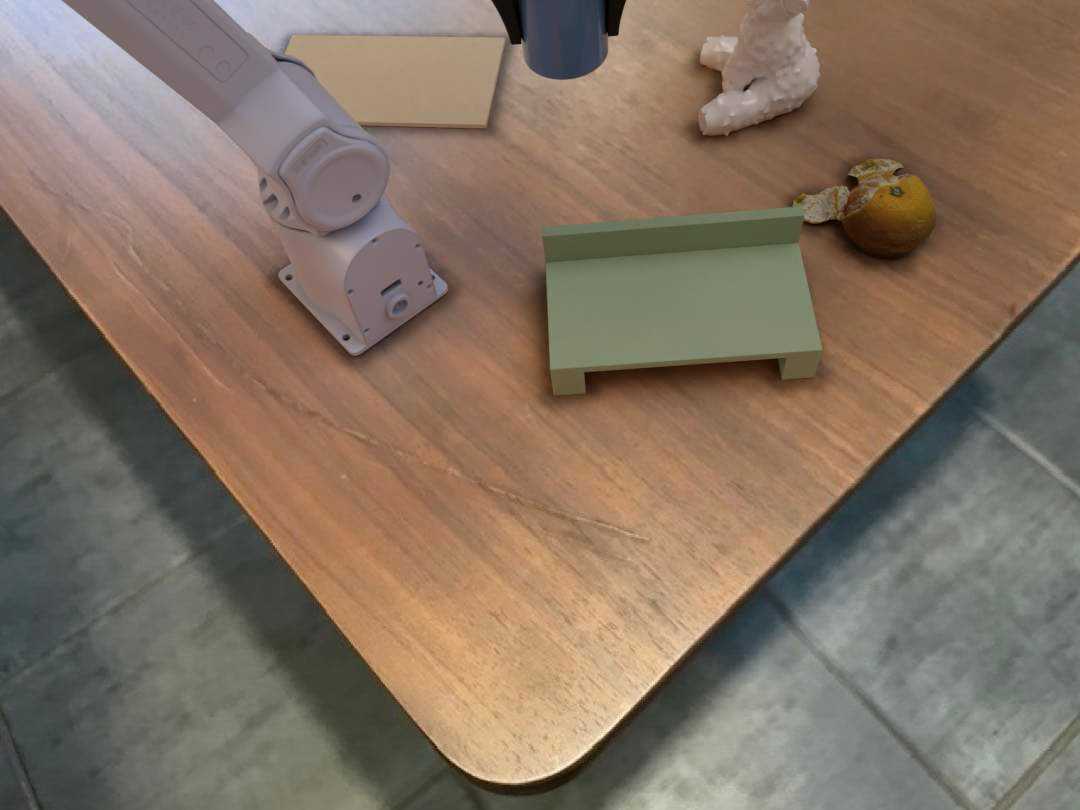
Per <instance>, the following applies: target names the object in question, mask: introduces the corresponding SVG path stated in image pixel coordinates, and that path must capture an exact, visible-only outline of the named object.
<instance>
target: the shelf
mask: <svg viewBox="0 0 1080 810" xmlns="http://www.w3.org/2000/svg"><path fill="white" fill-rule="evenodd" d="M804 216H805V215H804V211H803V207H802V206H798V207H792V206H788V207H787V206H786V207H775V208H762V209H761V208H760V209H749V210H748V209H747V210H737V211H725V212H724V211H723V212H712V213H711V212H710V213H699V214H687V215H675V216H663V217H650V218H638V219H637V218H636V219H627V220H624V219H623V220H613V221H611V220H610V221H601V222H600V221H599V222H589V223H588V222H587V223H575V224H564V225H563V224H562V225H550V226H542V227H541V235H542V236H541V237H542V246H543V252H544V253H543V254H544V261H545V279H546V280H545V281H546V282H545V283H546V285H545V286H546V302H547V303H546V306H547V307H546V309H547V331H548V352H549V354H548V355H549V357H548V358H549V371H550V373H549V374H550V378H551V379H550V381H551V386H552V394H553V397H557V396H569V395H584V394H586V393H587V389H586V373H591V372H605V371H606V372H607V371H620V370H634V369H646V368H647V369H648V368H663V367H672V366H673V367H676V366H691V365H702V364H703V365H705V364H717V363H719V364H720V363H731V362H747V361H760V360H774V359H777V362H778V368H779V373H780V377H781V380H782V381H783V380H784V381H785V380H797V379H799V380H800V379H812V378H813V379H814V378H815V377H816V374H817V370H818V367H819V364H820V360H821V356H822V353H823V345H822V341H821V337H820V333H819V327H818V324H817V319H816V314H815V310H814V305H813V301H812V297H811V291H810V288H809V283H808V278H807V274H806V269H805V265H804V260H803V257H802V256H803V255H802V251H801V247H800V238H801V234H802V229H803V224H804Z"/></svg>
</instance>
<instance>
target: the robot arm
mask: <svg viewBox="0 0 1080 810" xmlns="http://www.w3.org/2000/svg"><path fill="white" fill-rule="evenodd" d="M490 1H491V3H492V4H493V6H494V8H495V9H496V11H497V13H498V15H499V16H500V18H501V21H502V23H503V25H504V27H505V30H506V33H507V36H508V39H509V43H510V45H512V46H515V45H522V40H521V31H520V23H519V16H518V7H517V0H490ZM61 2H63V3H64V4H65V5H66V6H68V7H69V8H70V9H71V10H73V11H74V12H75V13H77V15H79V16H80V17H81V18H83V19H84V20H85V21H87V22H88V23H89V24H90V25H92V26H93V27H94V28H96V30H98V31H99V32H100V33H102V35H104V36H105V37H107V38H108V39H109V40H110V41H111V42H112V43H114V44H115V45H116V46H117V47H119V48H121V49H122V50H123V51H124V52H125V53H127V54H128V55H129V56H130V57H132V59H134V60H135V61H136V62H137V63H139V64H140V65H142V66H143V67H144V68H145V69H146V70H148V71H149V72H151V73H152V74H153V75H154V76H156V77H157V78H158V79H159V80H160V81H162V83H164V84H165V85H166V86H167V87H169V88H170V89H172V90H173V91H174V92H176V93H177V94H178V95H179V96H180V97H182V98H183V99H184V100H185V101H187V103H189V104H190V105H192V106H193V107H194V108H195V109H196V110H198V111H199V112H200V113H202V114H203V115H204V116H205V117H207V118H208V120H210V121H212V122H213V123H214V124H215V125H216V126H217V127H218V128H219V129H221V130H222V131H223V133H224V134H225V135H226V136H227V137H228V138H229V139H231V141H233V143H234V144H235V145H236V146H237V147H238V148H239V149H240V150H241V151H242V152H243V153H244V154H245V155H246V157H248V159H249V160H250V161H251V162H252V163H253V164H254V166H255V167H256V168H257V174H258V176H257V178H258V179H257V181H258V190H259V198H260V201H261V203H262V205H263V208H264V209H265V211H266V214H267V215H268V218H269V220H270V223H271V225H272V227H273V229H274V231H275V233H276V235H277V237H278V239H279V241H280V243H281V245H282V247H283V249H284V252H285V254H286V256H287V258H288V260H289V264H288V265H287V266H285V267H283V268H281V269H280V270H279V272H278V273H277V277H278V279H279V280H280V282H281V283H282V284H283V285H284V286H285V287H286V288H287V289H288V290H289V291H290V293H292V294H293V295H294V297H296V298H297V300H298V301H299V302H300V303H301V304H302V305H303V306H304V307H305V308H306V310H307V311H309V313H311V314H312V316H314V318H315V319H316V320H317V321H318V322H319V323H320V324H321V325H322V326H323V327H324V328H325V330H327V331H328V333H329V334H330V335H331V336H332V337H333V338H334V339H335V340H336V341H337V342H338V343H339V344H340V345H341V346H342V347H343V348H344V349H345V351H347V353H348V354H350V355H351V356H354V357H357V356H360V355H361V354H363V353H364V352H366V351H367V350H369V349H370V348H371V347H373V346H375V345H376V344H377V343H378V342H380V341H382V339H385V338H386V337H387V336H388V335H390V334H391V333H393V332H394V331H395V330H397V329H398V328H399V327H401V326H402V325H404V324H406V323H407V322H408V321H409V320H411V319H412V318H413V317H415V316H417V315H418V314H419V313H421V312H422V311H424V310H425V309H426V308H428V307H429V306H430V305H432V304H433V303H435V302H436V301H438V300H439V299H441V298H442V297H443V296H444V295H445V294H447V293H448V291H449V287H448V283H447V282H446V281H445V280H444V279H442V278H441V276H439V275H438V274H437V273H436V272H435V271H434V270H433V269H432V268H431V267H430V265H429V262H428V258H427V255H426V252H425V248H424V245H423V241H422V239H421V237H420V235H419V234H418V233H417V231H416V230H415V229H414V228H413V227H412V226H411V225H410V224H409V223H408V222H406V220H405V219H404V218H403V217H401V215H400V214H399V213H398V212H397V210H396V209H395V207H394V205H392V203H391V201H390V199H389V197H388V194H387V192H386V189H387V186H388V183H389V181H390V175H391V164H390V163H391V162H390V158H389V156H388V152H387V150H386V149H385V147H384V145H383V144H382V143H381V142H380V141H379V140H378V139H377V138H375V136H373V135H372V134H370V133H369V132H368V131H366V130H365V129H364V128H363V126H362V125H359V124H358V123H357V122H356V121H355V120H354V119H353V118H352V117H351V116H350V114H349V113H348V112H347V111H346V110H345V109H344V108H343V107H342V106H341V105H340V104H339V103H338V102H337V101H336V100H335V99H334V98H333V96H332V95H331V94H330V93H329V92H328V91H327V90H326V89H325V88H324V87H323V86H322V85H321V84H320V83H319V82H318V80H317V78H316V77H315V75H314V73H313V71H312V70H311V69H310V68H309V67H308V66H307V65H306V64H305V63H304V62H302V61H301V60H299V59H298V58H295V57H293V56H291V55H286V54H285V53H283V52H282V53H281V52H278V51H274V50H271V49H269V48H268V47H266V46H265V45H264V44H262V43H261V42H260V41H259V40H258V39H257V38H256V37H255V36H254V35H253V34H252V33H250V32H247V30H245V29H244V28H243V27H242V26H241V25H240V24H239V23H238V22H237V21H236V20H235V19H234V18H233V17H232V16H231V15H229V14H228V12H227V11H226V10H224V9H223V8H222V6H220V5H219V4H218V3H217V2H216V1H215V0H61ZM626 3H627V0H607V33H608V38H610V37H618V36H619V35H620V28H621V27H620V25H621V20H622V16H623V12H624V9H625V6H626ZM346 339H347V340H346Z"/></svg>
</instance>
